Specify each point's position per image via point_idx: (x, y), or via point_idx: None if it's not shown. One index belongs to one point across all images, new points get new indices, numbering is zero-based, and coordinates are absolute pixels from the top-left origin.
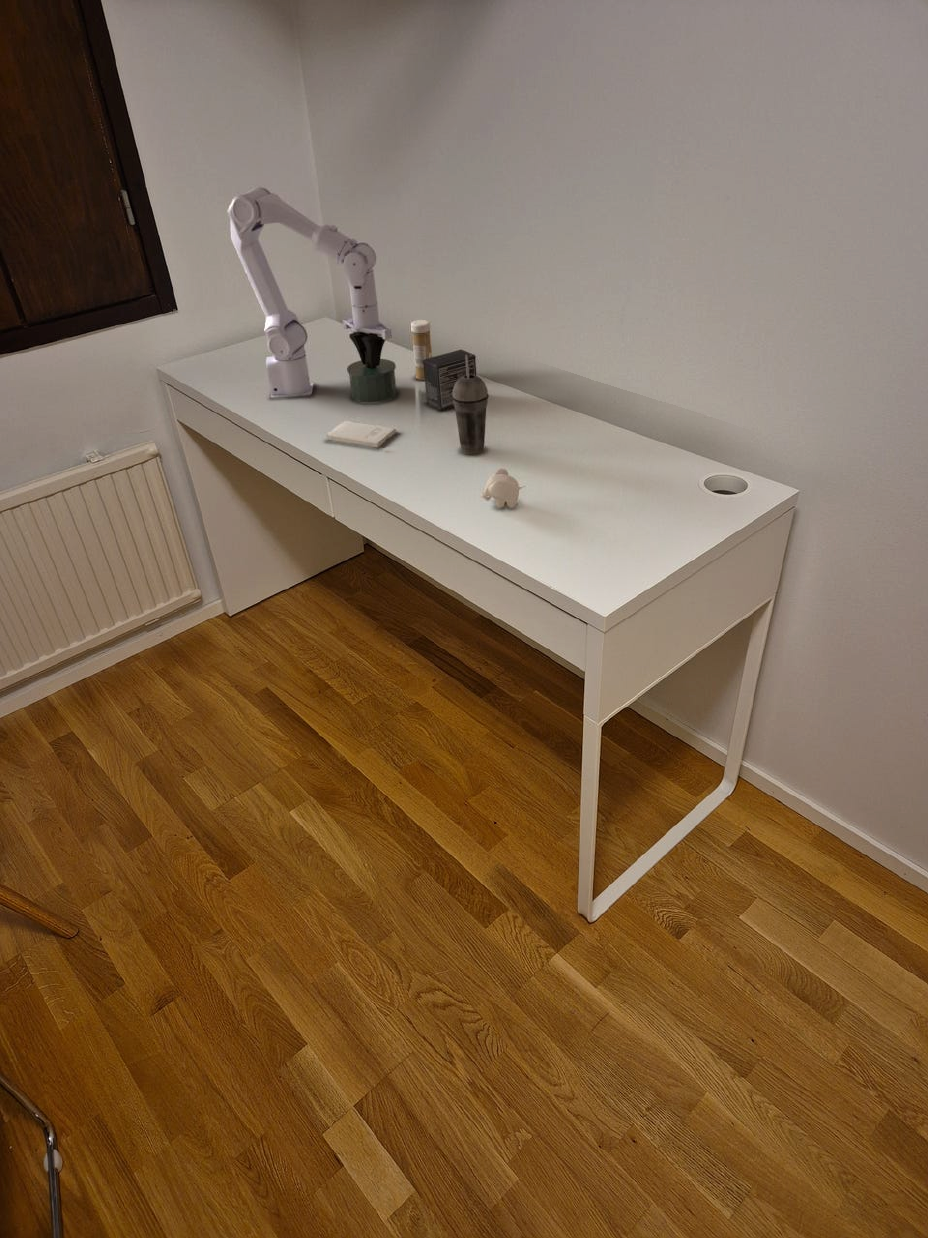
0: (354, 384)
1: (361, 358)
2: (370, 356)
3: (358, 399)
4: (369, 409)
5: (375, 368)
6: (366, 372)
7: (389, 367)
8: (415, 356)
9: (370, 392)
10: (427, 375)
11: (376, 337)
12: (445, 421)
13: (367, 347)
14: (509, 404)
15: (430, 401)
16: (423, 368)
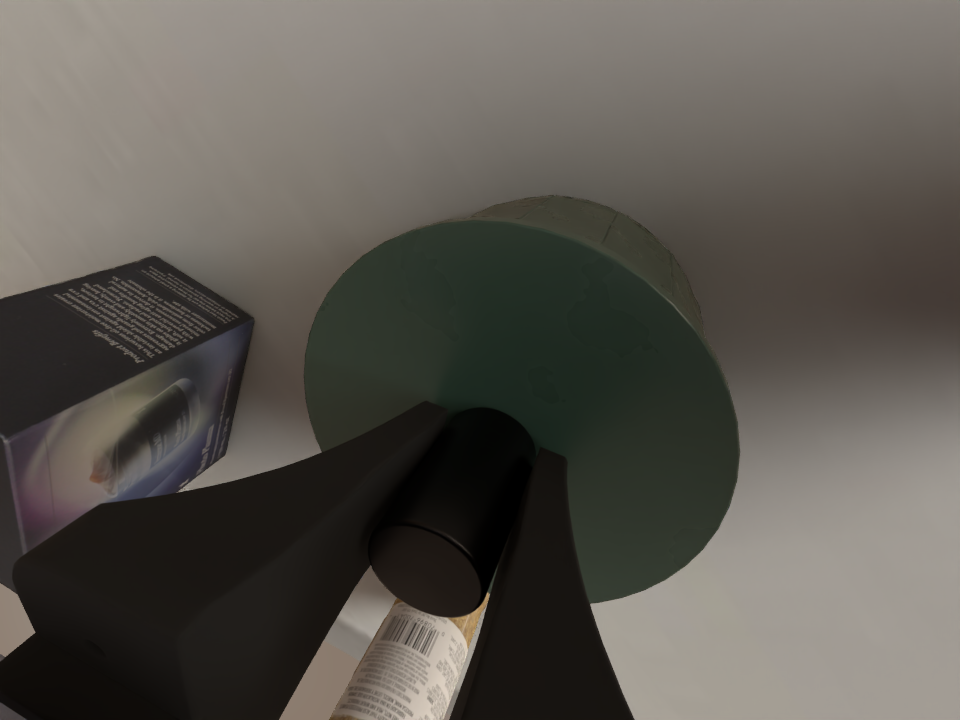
0: (583, 227)
1: (546, 481)
2: (356, 442)
3: (576, 201)
4: (449, 125)
5: None
6: (439, 306)
7: None
8: (417, 662)
9: None
10: (68, 361)
11: (39, 638)
12: (64, 157)
13: (288, 507)
14: None
15: (201, 303)
16: None
